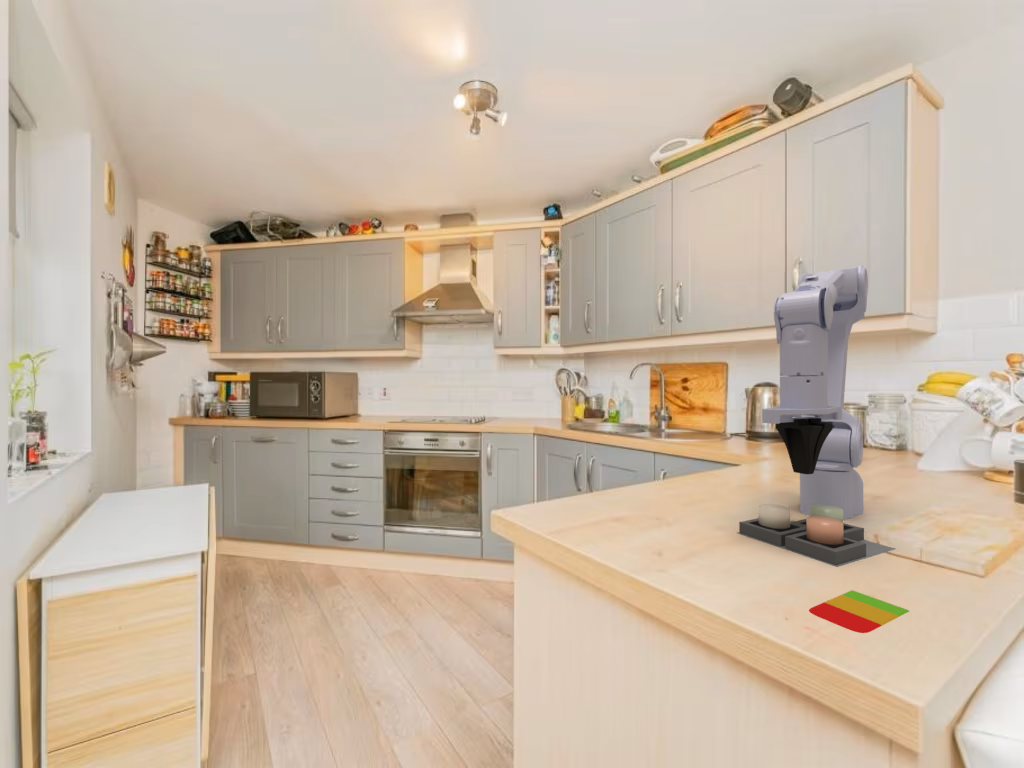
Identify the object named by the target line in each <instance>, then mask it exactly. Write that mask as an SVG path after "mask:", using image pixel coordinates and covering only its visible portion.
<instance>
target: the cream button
mask: <svg viewBox="0 0 1024 768" xmlns="http://www.w3.org/2000/svg"><path fill="white" fill-rule="evenodd" d="M757 509H758V510H757V511H758V512H757V515H758V517H757V518H758V523H759V524H760V525H762V526H765V527H770V528H776V529H786V528H790V521H791V508H790V507H787V506H785V505H781V504H775V503H774V504H773V503H760V504H758V507H757Z"/></svg>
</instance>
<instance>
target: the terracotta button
mask: <svg viewBox="0 0 1024 768" xmlns="http://www.w3.org/2000/svg"><path fill="white" fill-rule="evenodd" d="M805 519H806V536H807V538H808V539H810V540H812V541H815V542H819V543H823V544H833V545H837V544H842V543H843V523H844V521H843V522H842V521H840V520H837V519H833V518H829V517H821V516H807V517H806V518H805Z"/></svg>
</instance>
